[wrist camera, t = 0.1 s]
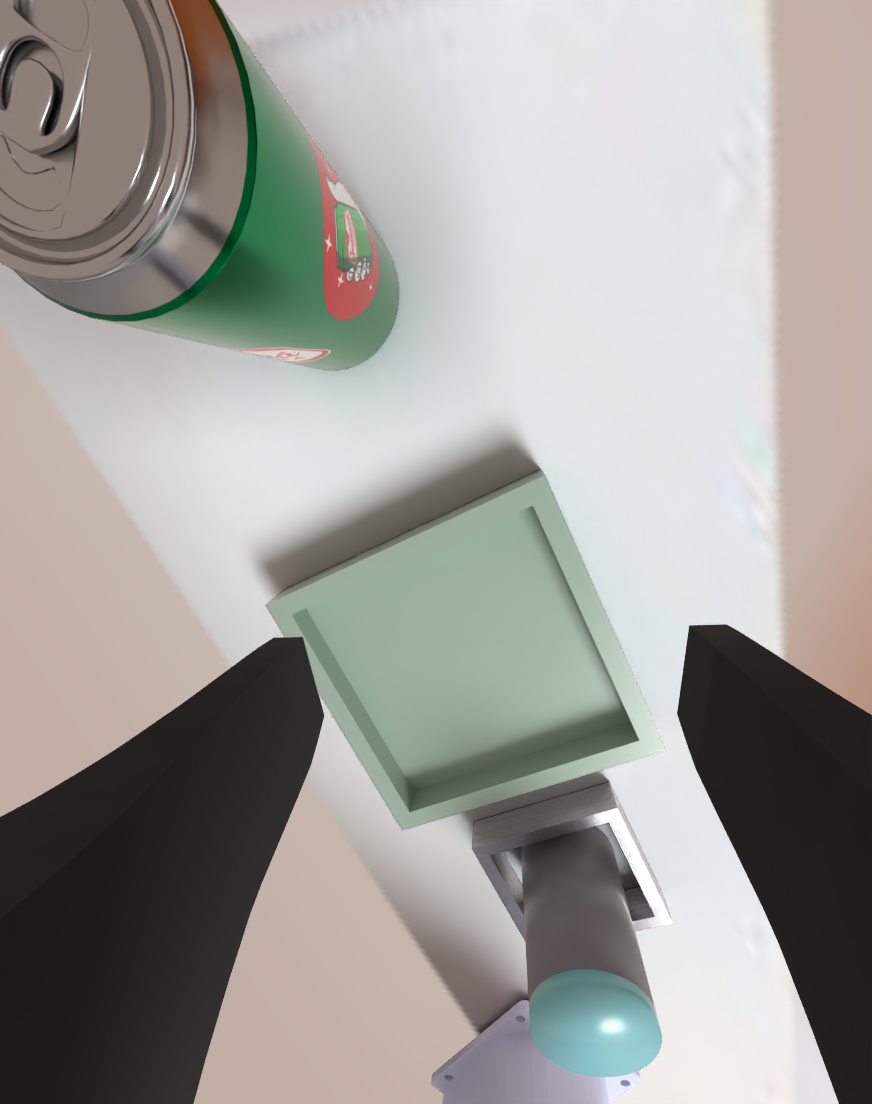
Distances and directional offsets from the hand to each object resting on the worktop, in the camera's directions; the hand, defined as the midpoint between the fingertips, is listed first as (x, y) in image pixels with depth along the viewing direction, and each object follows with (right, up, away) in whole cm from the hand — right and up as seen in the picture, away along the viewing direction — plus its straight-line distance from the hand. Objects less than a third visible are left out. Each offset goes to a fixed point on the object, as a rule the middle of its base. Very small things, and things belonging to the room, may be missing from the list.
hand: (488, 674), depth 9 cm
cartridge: (+5, -12, +14) cm, 20 cm away
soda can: (-5, +12, +8) cm, 15 cm away
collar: (+5, -12, +14) cm, 20 cm away
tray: (0, -2, +12) cm, 12 cm away
